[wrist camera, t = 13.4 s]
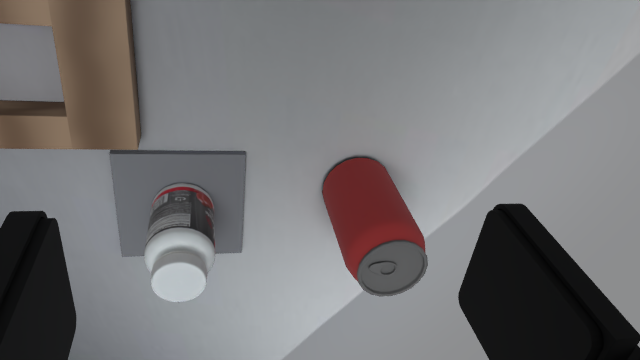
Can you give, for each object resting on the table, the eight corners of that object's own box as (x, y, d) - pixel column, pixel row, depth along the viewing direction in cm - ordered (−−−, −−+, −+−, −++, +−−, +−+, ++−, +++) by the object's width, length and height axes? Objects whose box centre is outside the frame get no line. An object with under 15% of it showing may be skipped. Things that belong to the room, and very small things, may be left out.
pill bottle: (221, 220, 47) (225, 298, 39) (165, 236, 47) (156, 317, 39) (202, 173, 44) (201, 247, 36) (142, 190, 44) (127, 268, 36)
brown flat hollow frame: (128, -20, 35) (123, -11, 33) (141, 134, 41) (137, 149, 39) (-143, -41, 32) (-167, -33, 30) (-84, 131, 38) (-100, 147, 36)
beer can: (332, 148, 46) (367, 232, 36) (398, 160, 48) (448, 242, 38) (312, 207, 49) (339, 299, 39) (374, 215, 51) (415, 304, 41)
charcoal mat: (245, 151, 44) (245, 154, 44) (241, 248, 50) (241, 252, 49) (110, 150, 42) (109, 153, 41) (122, 252, 47) (121, 256, 47)
